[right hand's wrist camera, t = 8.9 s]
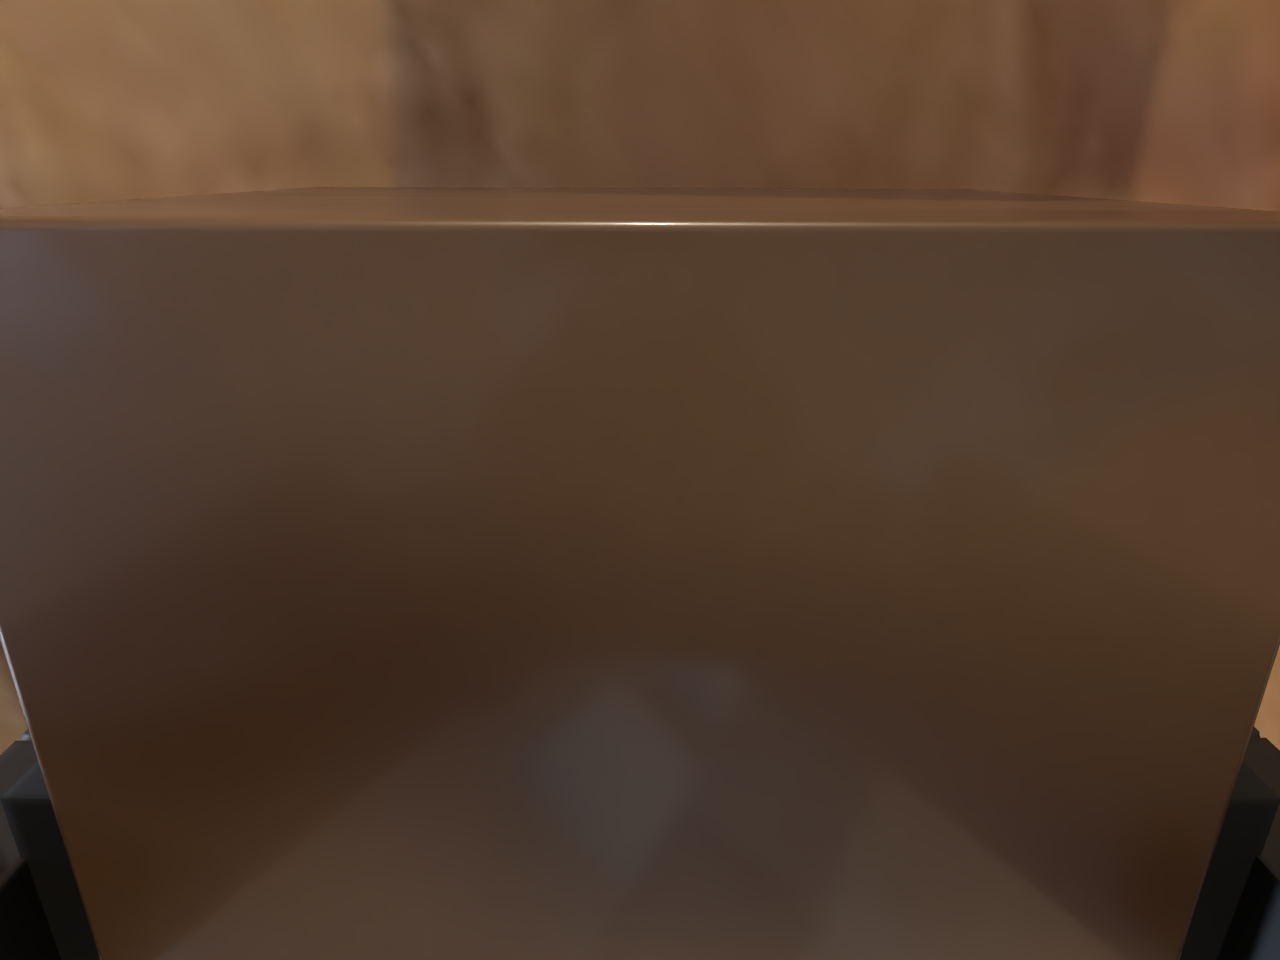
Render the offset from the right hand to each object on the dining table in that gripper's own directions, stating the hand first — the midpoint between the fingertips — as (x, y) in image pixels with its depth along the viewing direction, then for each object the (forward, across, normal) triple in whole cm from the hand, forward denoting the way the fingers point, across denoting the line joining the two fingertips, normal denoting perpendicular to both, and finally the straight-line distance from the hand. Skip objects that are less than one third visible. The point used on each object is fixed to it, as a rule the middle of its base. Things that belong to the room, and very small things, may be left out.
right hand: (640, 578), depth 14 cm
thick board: (0, 0, -25) cm, 25 cm away
